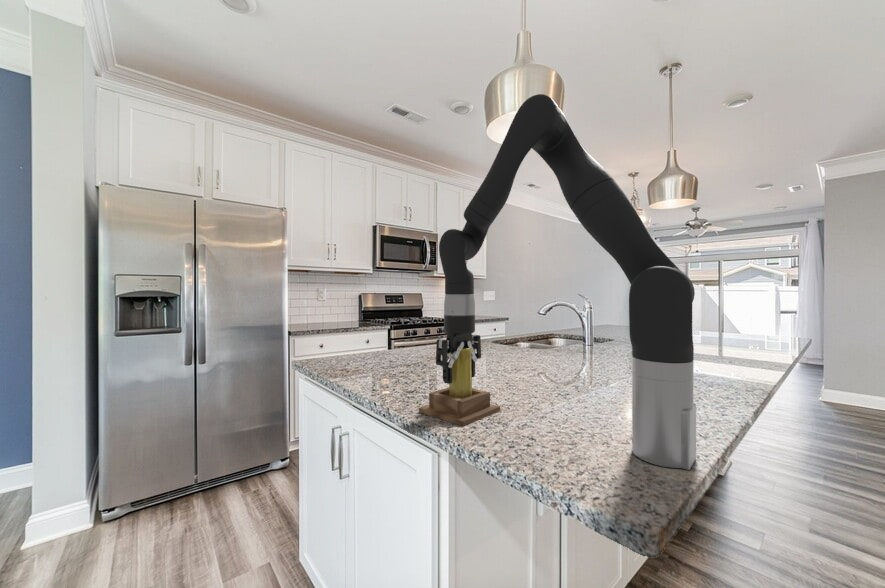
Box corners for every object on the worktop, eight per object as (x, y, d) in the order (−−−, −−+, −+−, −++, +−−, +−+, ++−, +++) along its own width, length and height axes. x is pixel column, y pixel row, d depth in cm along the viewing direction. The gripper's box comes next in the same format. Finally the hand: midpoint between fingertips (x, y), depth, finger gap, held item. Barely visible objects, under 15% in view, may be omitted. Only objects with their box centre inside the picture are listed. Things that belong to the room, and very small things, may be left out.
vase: (473, 402, 92) (473, 345, 92) (473, 410, 86) (472, 349, 86) (449, 401, 93) (448, 345, 93) (447, 409, 87) (447, 349, 87)
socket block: (500, 410, 90) (500, 392, 90) (463, 426, 79) (463, 405, 79) (456, 399, 99) (456, 382, 99) (418, 411, 89) (418, 393, 89)
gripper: (451, 315, 81) (452, 388, 81) (489, 312, 92) (489, 377, 92) (427, 314, 86) (428, 382, 87) (465, 311, 97) (466, 372, 97)
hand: (459, 379), depth 89 cm, fingers open, 8 cm apart
